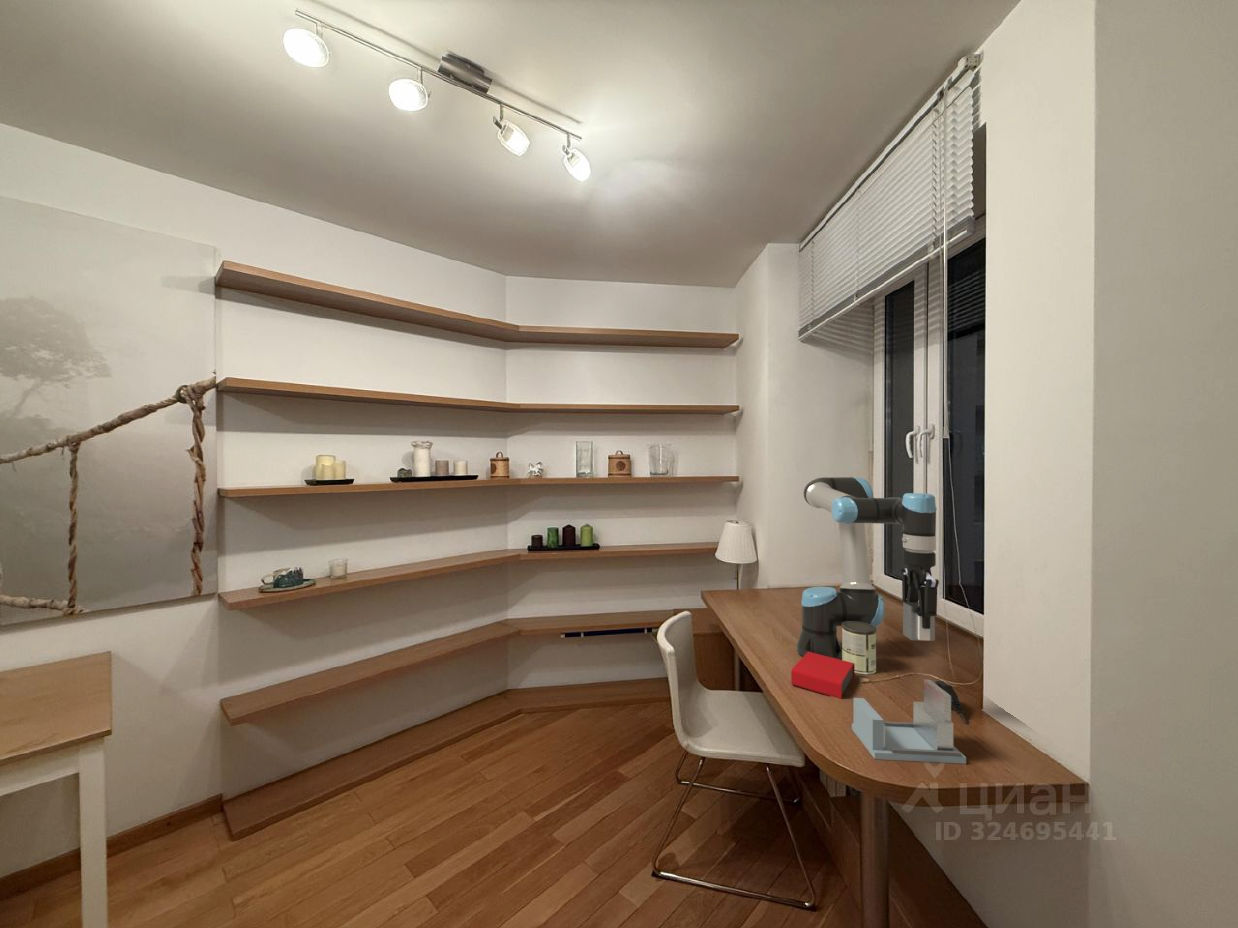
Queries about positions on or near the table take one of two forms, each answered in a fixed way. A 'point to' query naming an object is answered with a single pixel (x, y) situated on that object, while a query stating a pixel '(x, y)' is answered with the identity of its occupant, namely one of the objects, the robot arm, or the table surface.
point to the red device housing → (823, 674)
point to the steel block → (914, 621)
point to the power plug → (952, 698)
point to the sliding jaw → (934, 717)
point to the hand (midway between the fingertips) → (918, 636)
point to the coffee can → (859, 646)
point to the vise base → (896, 738)
